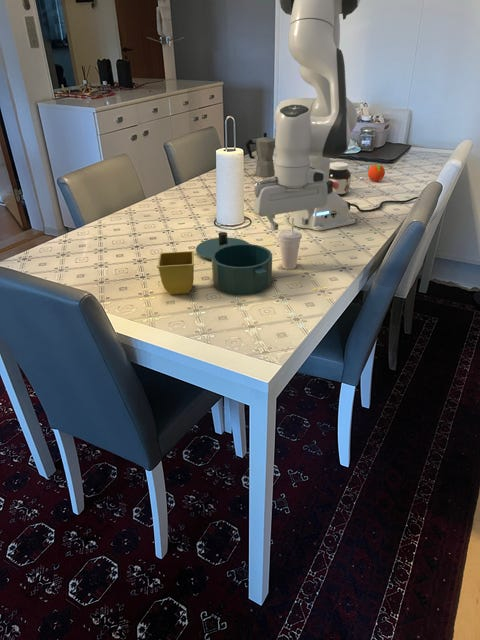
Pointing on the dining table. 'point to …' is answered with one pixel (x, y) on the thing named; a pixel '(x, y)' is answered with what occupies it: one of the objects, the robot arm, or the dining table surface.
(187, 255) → the flower pot
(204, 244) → the lid
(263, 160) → the coffeepot
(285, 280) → the dining table surface
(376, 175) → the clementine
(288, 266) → the smoothie
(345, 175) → the spread jar
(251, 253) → the pot
